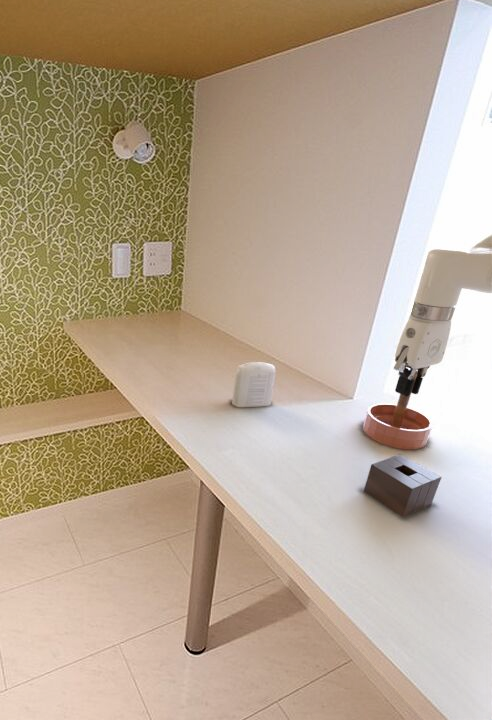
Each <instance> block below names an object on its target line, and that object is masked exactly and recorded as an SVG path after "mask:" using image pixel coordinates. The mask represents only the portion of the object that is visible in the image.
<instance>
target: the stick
mask: <svg viewBox="0 0 492 720" xmlns="http://www.w3.org/2000/svg"><path fill="white" fill-rule="evenodd" d="M407 369H409V371H410V368H408V367H407ZM417 373H418V370H417V369H416V371H415V374H414V377H413V379H414V380H416V377H417ZM414 383H415V381H414ZM413 386H414V384H413ZM412 389H413V387H412ZM411 392H412V390H411ZM411 395H412V393H411V394H410V396H404V395H402V394H400V393H399V396H398V400H397V403H396V405H397V406H396V410H395V413H394V416H393V419H392V423H391V424H390V426H393V427H397V428H402V427H401V424H402V421H403V418H404V415H405V412H406V408H407V407H408V406H409V402H410V399H411Z"/></svg>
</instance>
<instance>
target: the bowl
mask: <svg viewBox="0 0 492 720" xmlns="http://www.w3.org/2000/svg"><path fill="white" fill-rule="evenodd" d="M396 406H397V403H396V404H394V403H375V404H372V405H370V406H369V407H368V408H367V409H366V413H365V417H364V421H363V424H362V430H363V432H364V434H365V435H366V436H368V437H369V438H370V439H372V440H373V441H375V442H377V443H380V444H382V445H385V446H387V447H391V448H395V449H400V450H418V449H422V448H423V447H426V445H427V443H428V441H429V437H430V436H431V432H432V429H433V426H434V422H433V420H432V419H431V418H430V417H429V416H428V415H426V414H425V413H423V412H421V411H419V410H417V409H415V408H413V407H409V406H407V408H406V412H405V415H404V418H403V421H402V424H401V427H400V428H397V427H393V426H391V423H392V419H393V416H394V413H395V410H396Z"/></svg>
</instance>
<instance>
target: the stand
mask: <svg viewBox="0 0 492 720" xmlns="http://www.w3.org/2000/svg"><path fill="white" fill-rule="evenodd" d="M441 481H442V476H441V475H439V474H437V473H435V472H434V471H432V470H430V469H428V468H427V467H425V466H423V465H421V464H420V463H417V462H415V461H414V460H412V459H410V458H408V457H406V456H405V455H403V454H401V453H399V454H396V455H393V456H391V457H388V458H385V459H382V460H380V461H377V462H374V463H371V465H370V468H369V472H368V475H367V477H366V481H365V485H364V488H363V492H364V493H365V494H367V495H369V496H370V497H371V498H373V499H374V500H376V501H377V502H378V503H381V504H382V505H383V506H385V507H387V508H388V509H389V510H391V511H392V512H394V513H395V514H397V515H398V516H399V517H401V518H405V517H407V516H410V515H411V514H413V513H415V512H417V511H420V510H423V509H425V508H426V507H427V508H428V507H429V506H432V504H433V501H434V499H435V496H436V494H437V490H438V488H439V485H440V483H441Z"/></svg>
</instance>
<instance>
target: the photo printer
mask: <svg viewBox="0 0 492 720" xmlns="http://www.w3.org/2000/svg"><path fill="white" fill-rule="evenodd" d="M275 379H276V366H275V365H274V364H271V363H269V362H265V361H264V362H263V361H251V362H246V363H242V364H239V365H238V366H236V369H235V376H234V385H233V391H232V392H233V393H232V400H231V401H232V402H231V403H232V404H231V405H232V406H234V407H236V408H256V407H258V408H259V407H270V406H271V403H272V397H273V392H274V386H275V381H276V380H275Z"/></svg>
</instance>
